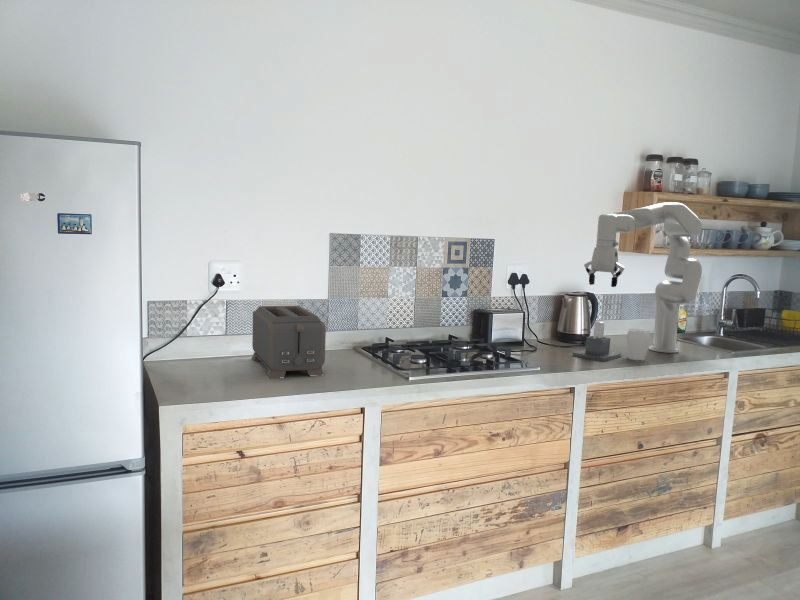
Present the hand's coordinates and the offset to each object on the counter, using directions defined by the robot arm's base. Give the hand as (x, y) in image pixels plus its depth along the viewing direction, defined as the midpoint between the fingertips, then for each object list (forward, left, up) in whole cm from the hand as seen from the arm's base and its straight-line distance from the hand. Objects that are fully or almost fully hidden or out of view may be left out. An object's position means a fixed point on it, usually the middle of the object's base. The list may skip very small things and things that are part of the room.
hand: (602, 285), depth 271 cm
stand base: (0, 0, -30) cm, 30 cm away
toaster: (+116, -60, -31) cm, 134 cm away
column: (0, 0, -28) cm, 29 cm away
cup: (-10, +13, -30) cm, 34 cm away
